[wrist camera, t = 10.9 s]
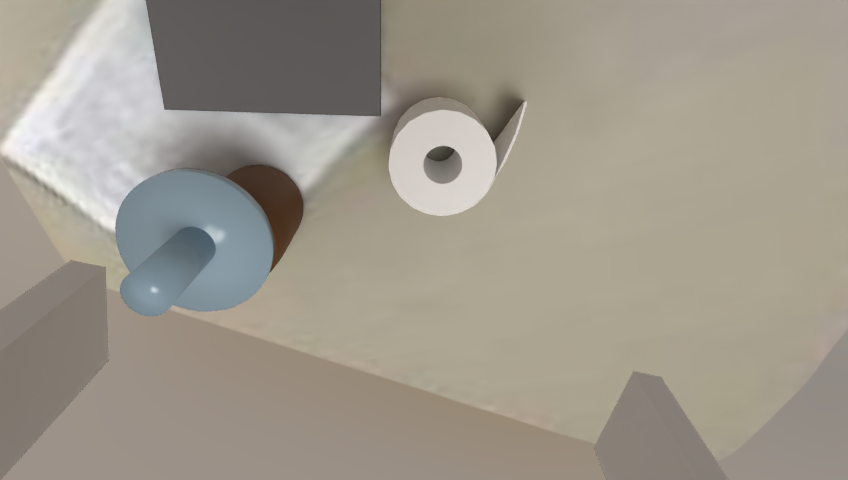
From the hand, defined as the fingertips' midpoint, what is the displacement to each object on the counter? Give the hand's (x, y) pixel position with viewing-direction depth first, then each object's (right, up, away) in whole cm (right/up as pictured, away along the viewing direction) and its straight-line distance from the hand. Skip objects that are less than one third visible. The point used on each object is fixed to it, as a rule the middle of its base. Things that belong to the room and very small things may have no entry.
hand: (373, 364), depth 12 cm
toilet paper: (+5, +12, +31) cm, 34 cm away
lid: (-15, +3, +24) cm, 29 cm away
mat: (-11, +22, +26) cm, 36 cm away
